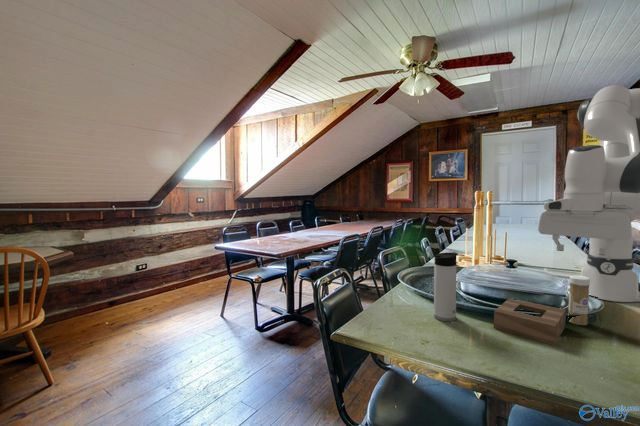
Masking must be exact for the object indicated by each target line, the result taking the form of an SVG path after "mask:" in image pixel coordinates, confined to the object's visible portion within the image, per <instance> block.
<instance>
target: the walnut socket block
mask: <svg viewBox="0 0 640 426" xmlns="http://www.w3.org/2000/svg"><path fill="white" fill-rule="evenodd" d="M513 299H514V298H512V299H509V298H507V299H506V300H505V301H504V302H503V303H502V304H500V305H499V306H498V307H497V308H496V309H495V310H494V311H493V329H495V330H499V331H503V332H505V333H506V332H507V333H510V334H513V335H517V336H519V337H524V338H527V339H531V340H535V341H538V342H542V343H544V344H545V343H546V344H548V345H552V346H556V344H557V342H558V340H559V338H560V337H561V336H562V333H563V331H564V330H565V328H566V316H567V315H566V313H567V310H566V309H564V308H559V307H555V306H550V305H545V304H540V303H535V302H530V301H527V300H526V301H525V300H522V301H521V299H517V300H513ZM518 309H523V310H528V311H534V312H537V313H540V314H541V315H536V316H533V315H529V314H525V313H521V312H517V310H518Z"/></svg>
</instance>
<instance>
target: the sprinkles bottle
mask: <svg viewBox="0 0 640 426" xmlns="http://www.w3.org/2000/svg"><path fill="white" fill-rule="evenodd" d="M568 282H569V295H568V314H569V313H570V314H577V315H580V316H576V317H572V318H571V319H570V320H569V321H568V322H569V323H571V324H573V325H576V326H577V325H578V326H588V324H589V321H588V319H589V318H588V317H589V316H588V315H589V300H590V299H589V297H590V296H589V285H590V278H588V277H585V276H581V275H579V274H576V275H575V274H574V275H570V276H569V281H568Z"/></svg>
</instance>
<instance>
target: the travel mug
mask: <svg viewBox="0 0 640 426" xmlns="http://www.w3.org/2000/svg"><path fill="white" fill-rule="evenodd" d="M457 256H459V255H458V253H457V252H439V253H437V254H435V255H434V266H433V269H434V271H433V282H434V283H433V287H434V288H433V289H434V290H433V291H434V292H433V316H434V318H435V319H437V320H438V321H441V322H454V321H456V319H457V271H458V270H457Z"/></svg>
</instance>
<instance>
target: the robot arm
mask: <svg viewBox="0 0 640 426" xmlns="http://www.w3.org/2000/svg"><path fill="white" fill-rule="evenodd" d="M577 119H578V122H579V124H580V125H581V126H582V127H583V128H584V131H585V132H586V133H587V135H589V136H590V137H592V138H593V139H595V140H598V141H599V144H597V145H596V144H592V145H582V146H576V147H572V148H571V149H569V150H568V153H567V156H566V161H565V169H564V174H563V175H564V176H563V177H564V179H563V181H564V184H565V189H564V191H563V198H557V199H554V200H551V201H547V202H544V205H543V208H544V210H543V211H542V212H541V213H540V217H539V220H538V228H537V229H538V230H537V231H538V232H539V234H540V235H547V236H549V235H550V236H552V237H551V239H552V240H553V242H554V244H555V245H556V251H558V252H564V250H565V244H561V242H560V241H559V239H561V238H560V237H571V238H573V237H575V238H588V239H589V240H588V242H589V251H588V252H589V253H588V254H587V256H586V266H584V267H583V268H581V272H580V276H585V277H588V278H590V285H589V293H590V294H592V295H594V296H596V297H598V298H597V299H599V300H605V301H609V302H619V303H633V302H634V303H636V302H637V303H638V302H639V303H640V291H639V290H640V286H639V275H637V273H636V272H634V271H633V269H634V265H635V261H634V257H633V247H634V246H633V244H634V243H633V242H634V238H633V228H632V222H633V221H634V220H635V218H640V88H632V89H630V88H627V87H625V86H623V85H620V84H619V85H618V84H613V85H608V86H604V87H603V88H601V89H600V90H598V91H597V92H596V93H595V95H594V96H593V97H592V98H588V99H586V100H584V101H583V102H582V103H580V105H579V107H578V111H577Z"/></svg>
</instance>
